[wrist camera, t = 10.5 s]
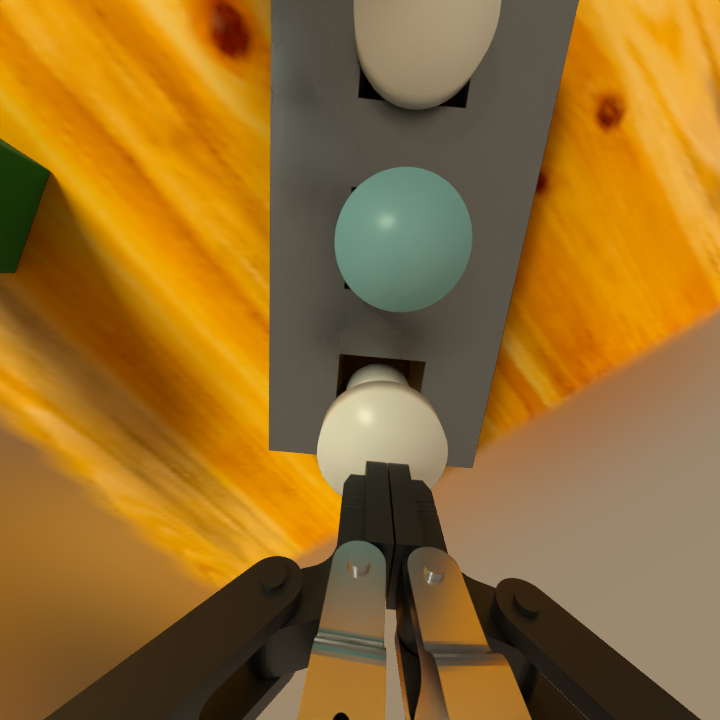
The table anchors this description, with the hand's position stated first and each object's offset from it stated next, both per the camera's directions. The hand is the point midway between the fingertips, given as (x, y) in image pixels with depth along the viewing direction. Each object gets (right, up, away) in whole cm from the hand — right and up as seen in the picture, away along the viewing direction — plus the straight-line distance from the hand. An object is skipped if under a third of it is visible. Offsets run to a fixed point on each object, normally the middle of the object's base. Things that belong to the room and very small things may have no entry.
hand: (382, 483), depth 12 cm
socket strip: (+1, +11, +9) cm, 15 cm away
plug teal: (+1, +11, +6) cm, 13 cm away
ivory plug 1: (+2, +19, +6) cm, 20 cm away
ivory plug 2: (0, +3, +7) cm, 8 cm away
